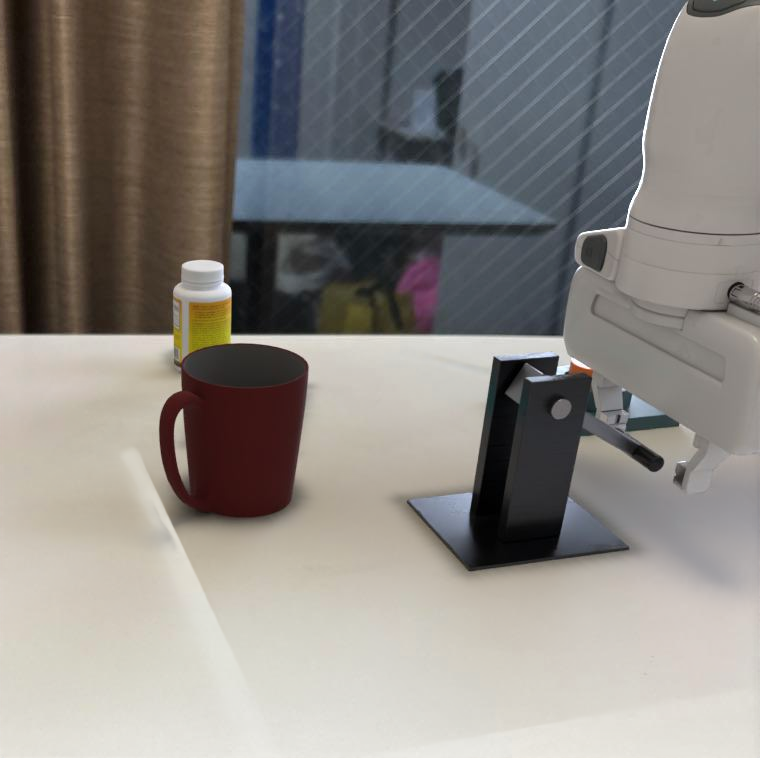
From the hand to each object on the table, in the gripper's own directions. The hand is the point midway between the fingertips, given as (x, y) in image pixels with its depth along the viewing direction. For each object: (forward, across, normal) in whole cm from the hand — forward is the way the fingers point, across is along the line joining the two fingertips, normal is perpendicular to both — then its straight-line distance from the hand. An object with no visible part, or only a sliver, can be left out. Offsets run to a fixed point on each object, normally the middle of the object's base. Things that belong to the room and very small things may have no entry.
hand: (646, 459), depth 74 cm
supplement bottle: (+5, +38, +23) cm, 45 cm away
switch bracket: (+5, 0, +10) cm, 11 cm away
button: (+1, +18, -7) cm, 19 cm away
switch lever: (-3, 0, +6) cm, 7 cm away
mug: (+5, +9, +28) cm, 30 cm away
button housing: (+5, +18, -7) cm, 20 cm away
